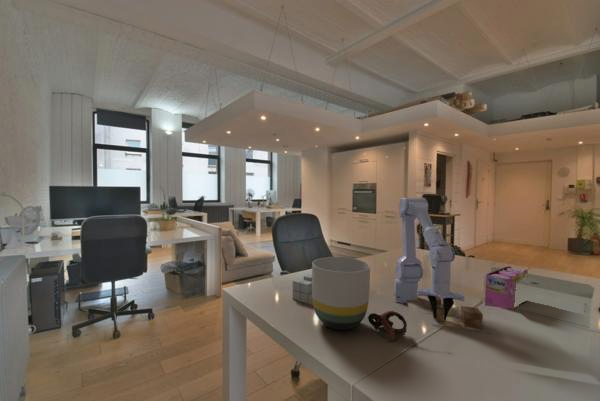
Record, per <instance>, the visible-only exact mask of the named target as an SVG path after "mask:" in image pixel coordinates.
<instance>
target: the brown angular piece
mask: <svg viewBox="0 0 600 401" xmlns="http://www.w3.org/2000/svg"><path fill="white" fill-rule="evenodd" d="M434 320H435V321H436V325H439V326H446V327H453V328H460V329H467V330H474V331H481V332H484V330H483V328H482V329H478V328H471V327H465V326H464V324H463V323H462V321H461V318H456V317H449V316H447V317H446V320H444V308H443V306H437V307H436V319H434Z"/></svg>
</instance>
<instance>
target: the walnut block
mask: <svg viewBox="0 0 600 401" xmlns="http://www.w3.org/2000/svg"><path fill="white" fill-rule="evenodd" d="M460 309H461V321H462V323H463V324H464V326H465V327H471V328H478V329H482V330H483V326H482V324H483V319H484V318H483V316H484V314H483V313H482V311H481V310H480V309H479V308H478V307H472V306H465V305H464V306H463V305H461V307H460Z"/></svg>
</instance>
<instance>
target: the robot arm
mask: <svg viewBox="0 0 600 401" xmlns="http://www.w3.org/2000/svg"><path fill="white" fill-rule="evenodd" d="M428 210H429V203H428V200H427V199H426V198H425V197H401V199H400V200H399V203H398V214H399V217H400V218H401V234H402V236H401V237H402V256H401V257H400V258H399V259H398V260H397V261H396V267H395V274H396V277H397V278H394V279H395V280H394V292H393V296H394V302H396V303H400V304H401V303H402V304H408V301H417V300H418V299H419V297H427V299H428V301H429V304H431V305H430V308H431V311H432V313H433V314H432V317H433V319H434V320H435V319H436V307H437V301H436V297H437V298H441V299H442V305H443V308H444V320H446V317H448V316H447V314H448V312H449V310H450V308H453V307H454V306H453V305H454V300H456V301H460V302H465V295H464V294H463V293H460V292H459V293H458V292H455V291H451V290H450V289H451V287H450V286H451V263H452V262H453V261H454V260H455V258H456V253H455V249H454V247H453V245H450V244H449V243H448V242H446V240H445V238H444V237H443V235H442V233H441V232H440V230H439V228H438V227H434V224H433V222H432V218H431V216H430V214H429V212H428ZM416 219H417V221H418V222H419V224H420V226H421V227H422V228H423V230H424V231H423V233H422V236H423V237H424V240H425V242H426V245H427V246H428V248H429V251H428V257H429V259H430V260H429V261H430V267H431V285H430V286H431V287H430V288H419V282H420V281H421V279H422V278H423V276H424V268H423V266H422V264H423V263H422V261H421V260H420V259H419V258H417V255H416V254H417V253H416V251H417V250H416V231H415V230H416V228H415V220H416Z"/></svg>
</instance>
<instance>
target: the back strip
mask: <svg viewBox="0 0 600 401" xmlns="http://www.w3.org/2000/svg"><path fill="white" fill-rule="evenodd" d="M436 301H437V306H441V305H442V302H443V299H442V298H437V297H436ZM447 315H449V316H456V317H461V308H453V307H451V308H450V310H449V312H448V314H447Z"/></svg>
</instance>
